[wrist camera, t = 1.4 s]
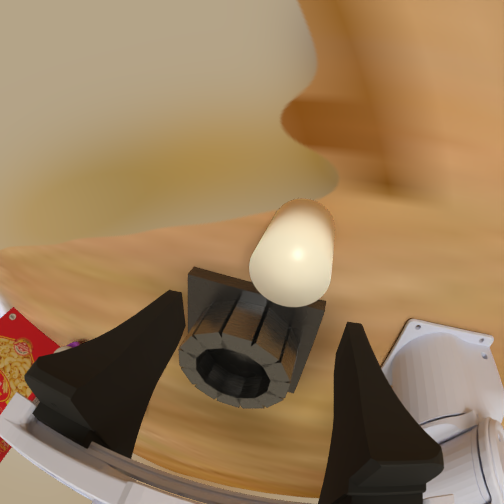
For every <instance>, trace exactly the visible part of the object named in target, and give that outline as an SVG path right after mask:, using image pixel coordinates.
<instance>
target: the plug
mask: <svg viewBox="0 0 504 504" xmlns="http://www.w3.org/2000/svg"><path fill="white" fill-rule="evenodd" d="M334 238H335V224H334V220H333V217H332V216H331V214H330V212H329V211H328V210H327V209H326V208H325V207H324V206H323V205H321V204H320V203H318V202H316V201H314V200H310V199H302V198H301V199H294V200H291V201H288V202H287V203H285V204H283V205H282V206H281V207H280V208H279V209H278V211H277V212H276V214H275V216H274V217H273V219H272V221H271V223H270V224H269V226H268V228H267V230H266V231H265V233H264V235H263V237H262V238H261V240H260V242H259V243H258V245H257V247H256V249H255V250H254V252H253V254H252V256H251V259H250V263H249V273H250V277H251V280H252V282H253V284H254V286H255V287H256V289H257V290H258V291H259V292H260V293H261V294H262V295H263V296H264V297H265V298H267V299H268V300H270V301H272V302H274V303H276V304H279V305H282V306H286V307H301V306H306V305H309V304H311V303H313V302H315V301H317V300H318V299H320V298H321V297H322V296H323V295H324V293H325V292H326V291H327V289H328V287H329V284H330V280H331V272H332V262H333V250H334Z"/></svg>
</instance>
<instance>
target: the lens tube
mask: <svg viewBox="0 0 504 504" xmlns="http://www.w3.org/2000/svg"><path fill="white" fill-rule="evenodd" d="M325 305H326V301H322V300H317V301H315V302H313V303H311V304H309V305H306V306H301V307H286V306H282V305H279V304H276V303H274V302H272V301H270V300H268V299H267V298H265V297H264V296H263V295H262V294H261V293H260V292H259V291H258V290H257V289H256V287H255V286H254V284H253V283H252V282H248V281H245V280H241V279H237V278H233V277H230V276H226V275H222V274H219V273H215V272H211V271H208V270H204V269H200V268H197V267H194V268H193V269H192V270H191V271H190V272H189V274H188V335H187V336H186V338H185V340H184V341H183V343H182V344H181V346H180V347H179V363H180V366H182V367H181V369H182V371H183V372H184V373H185V375H186V376H187V378H188V379H189V380H190V382H191V383H192V384H196V385H195V387H196V388H198V389H199V390H201V391H202V392H204V393H205V394H207V395H208V396H210V397H211V398H213V399H215V398H217V401H219V402H222V403H225V404H228V405H232V406H235V407H238V408H239V407H240V406H241V407H242V408H264V407H270V406H272V405H274V404H276V403H278V402H280V401H282V400H283V399H284V398H285V396H286V394H287V392H291V393H294V391H295V389H296V386H297V384H298V381H299V379H300V376H301V374H302V371H303V369H304V366H305V364H306V361H307V358H308V356H309V353H310V350H311V348H312V345H313V342H314V340H315V337H316V334H317V331H318V329H319V326H320V323H321V320H322V317H323V314H324V312H325Z"/></svg>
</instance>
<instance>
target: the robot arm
mask: <svg viewBox="0 0 504 504" xmlns="http://www.w3.org/2000/svg"><path fill="white" fill-rule="evenodd" d="M417 325H420V326H418V327H416V326H417ZM185 326H186V325H185V317H184V309H183V300H182V293H181V292H177V291H172V290H169V291H167V292H166V293H164V294H163V295H162V296H160V297H159V298H158V299H156V300H155V301H154V302H152V303H151V304H150V305H148V306H147V307H145V308H144V309H143V310H141V311H140V312H138V313H137V314H136V315H134V316H133V317H131V318H130V319H128V320H127V321H125V322H124V323H122V324H121V325H119V326H117V327H116V328H114V329H112V330H110V331H109V332H107V333H105V334H103V335H101V336H99V337H97V338H95V339H92V340H90V341H88V342H86V343H83V344H81V345H78V346H76V347H73V348H70V349H67V350H64V351H60V352H57V353H53V354H48V355H44V356H39V357H38V358H37V360H36V361H35V362H34V363H33V365H32V366H31V367H30V368H29V370H28V371H27V372H26V374H25V375H24V379H25V382H26V384H27V385H28V387H29V388H30V389H31V391H32V392H33V393H34V395H35V396H36V397H37V399H38V400H39V401H40V403H39V404H38V405H37V406H36V405H35V404H34V403H33V402H32V401H30V400H29V399H27V398H26V397H24V396H23V395H21V394H20V393H18V392H16V393H15V395H14V396H13V398H12V399H11V400H10V402H9V403H8V405H7V406H6V407H5V409H4V410H3V412H2V413H1V415H0V437H1V438H2V439H3V440H5V441H6V442H7V443H8V444H9V445H10V446H11V447H13V448H14V449H15V450H16V451H18V452H19V453H20V454H21V455H22V456H24V457H25V458H26V459H28V460H29V461H31V462H32V463H33V464H35V465H36V466H37V467H39V468H40V469H42V470H43V471H45V472H46V473H48V474H49V475H50V476H52V477H53V478H55V479H56V480H58V481H60V482H61V483H63V484H64V485H66V486H68V487H69V488H71V489H72V490H74V491H76V492H78V493H79V494H81V495H83V496H85V497H86V498H88V499H90V500H92V501H93V502H92V504H202V503H198V502H195V501H191V500H188V499H185V498H182V497H178V496H176V495H173V494H170V493H167V492H164V491H161V490H158V489H156V488H153V487H150V486H148V485H145V484H142V483H139V482H136V480H139V481H141V482H144V483H146V484H149V485H151V486H154V487H157V488H160V489H162V490H165V491H168V492H171V493H174V494H177V495H180V496H183V497H186V498H190V499H193V500H196V501H200V502H203V503H207V504H308V503H299V502H291V501H283V500H276V499H269V498H264V497H258V496H252V495H247V494H242V493H238V492H233V491H229V490H224V489H220V488H216V487H212V486H209V485H205V484H201V483H198V482H194V481H191V480H188V479H185V478H181V477H178V476H175V475H172V474H169V473H166V472H163V471H161V470H158V469H155V468H152V467H150V466H147V465H144V464H142V463H139V462H137V461H134V460H132V459H131V457H132V453H133V449H134V446H135V442H136V438H137V435H138V432H139V429H140V426H141V422H142V419H143V417H144V414H145V411H146V408H147V406H148V403H149V401H150V398H151V396H152V393H153V391H154V388H155V386H156V384H157V382H158V380H159V378H160V377H161V375H162V373H163V371H164V369H165V368H166V366H167V364H168V362H169V360H170V359H171V357H172V355H173V353H174V351H175V349H176V348H177V346H178V344H179V341H180V339H181V336H182V334H183V331H184V328H185ZM480 339H481V340H480ZM493 341H494V339H493V337H492V336H491V335H487V334H482V333H477V332H473V331H468V330H463V329H458V328H454V327H449V326H444V325H440V324H435V323H431V322H426V321H422V320H417V319H410V320H409V321H408V322H407V323H406V325H405V327H404V329H403V331H402V333H401V334H400V336H399V338H398V340H397V342H396V343H395V345H394V347H393V349H392V350H391V352H390V354H389V355H388V357H387V359H386V360H385V362H384V364H383V365H382V367H380V365H379V363H378V361H377V359H376V357H375V355H374V352H373V350H372V348H371V346H370V343H369V341H368V338H367V336H366V333H365V331H364V328H363V326H362V324H359V323H352V322H347V324H346V327H345V330H344V333H343V336H342V338H341V341H340V344H339V347H338V350H337V352H336V359H335V368H334V421H333V431H332V438H331V445H330V451H329V457H328V463H327V468H326V473H325V477H324V482H323V486H322V490H321V494H320V498H319V502H318V504H504V429H503V427H502V425H501V422H502V419H503V416H504V389H503V386H502V382H501V379H500V376H499V373H498V370H497V367H496V364H495V361H494V358H493V356H492V353H491V350H490V348H489V347H490V346H491V344H492V343H493ZM390 385H392V387H391V386H390ZM132 478H134V479H136V480H134V479H132Z"/></svg>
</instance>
